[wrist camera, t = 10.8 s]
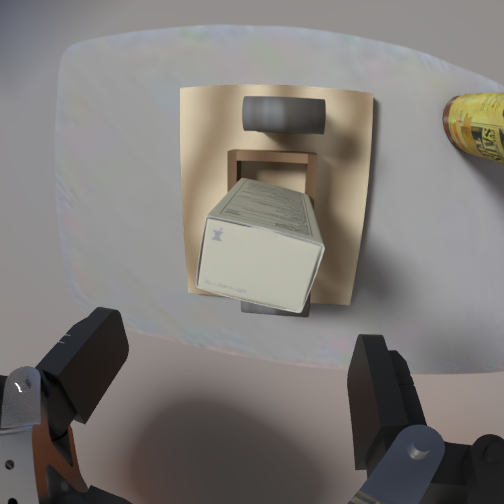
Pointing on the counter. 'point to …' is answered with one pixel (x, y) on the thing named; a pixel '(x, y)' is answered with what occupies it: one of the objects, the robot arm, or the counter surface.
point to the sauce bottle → (477, 124)
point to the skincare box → (261, 246)
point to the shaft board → (280, 167)
